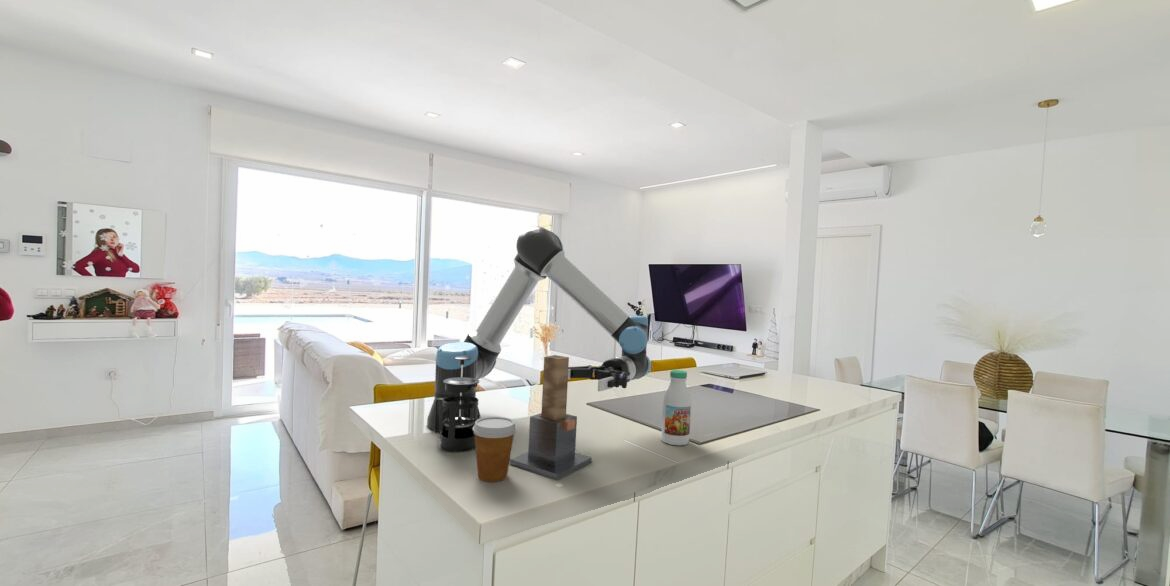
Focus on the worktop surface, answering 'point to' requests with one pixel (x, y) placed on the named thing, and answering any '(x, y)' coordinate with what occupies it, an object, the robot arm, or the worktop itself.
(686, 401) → the milk bottle
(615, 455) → the worktop surface
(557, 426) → the stand
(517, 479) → the worktop surface
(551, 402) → the post
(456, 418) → the french press
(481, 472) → the disposable coffee cup
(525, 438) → the worktop surface
